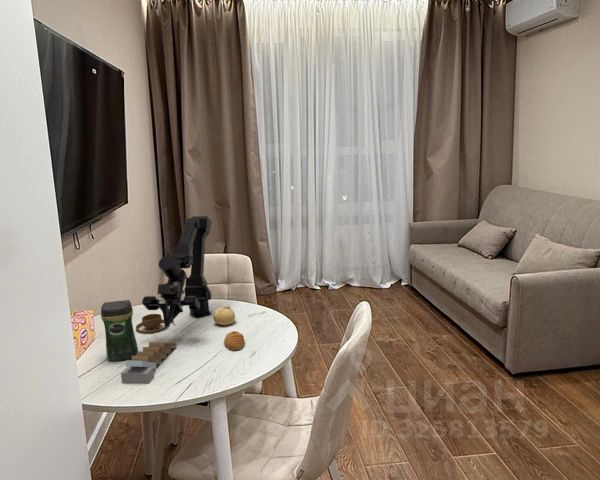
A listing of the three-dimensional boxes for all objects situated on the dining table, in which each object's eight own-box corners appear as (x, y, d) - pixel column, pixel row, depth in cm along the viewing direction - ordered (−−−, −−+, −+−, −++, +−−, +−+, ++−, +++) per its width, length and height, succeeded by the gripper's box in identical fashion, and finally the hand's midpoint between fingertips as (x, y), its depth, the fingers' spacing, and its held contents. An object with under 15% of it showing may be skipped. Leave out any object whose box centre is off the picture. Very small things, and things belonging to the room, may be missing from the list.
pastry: (246, 350, 173) (245, 339, 172) (226, 353, 171) (224, 342, 171) (243, 339, 182) (242, 329, 181) (223, 342, 180) (222, 331, 180)
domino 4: (156, 348, 174) (143, 346, 165) (171, 348, 173) (158, 347, 164) (156, 353, 174) (142, 352, 164) (170, 353, 173) (158, 352, 163)
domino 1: (141, 363, 163) (125, 360, 153) (156, 363, 162) (142, 360, 153) (140, 368, 162) (125, 366, 153) (155, 368, 162) (141, 366, 152)
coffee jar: (139, 349, 177) (133, 296, 174) (136, 359, 170) (130, 303, 166) (109, 353, 176) (102, 299, 172) (105, 363, 168) (97, 307, 164)
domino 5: (161, 342, 178) (148, 342, 169) (176, 343, 178) (163, 342, 168) (161, 347, 178) (148, 347, 168) (175, 348, 177) (163, 347, 168)
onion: (220, 329, 192) (219, 310, 191) (209, 324, 198) (208, 305, 197) (239, 323, 197) (238, 305, 195) (228, 318, 203) (226, 300, 202)
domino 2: (146, 358, 167) (131, 355, 157) (161, 358, 166) (147, 356, 156) (145, 363, 166) (131, 361, 157) (160, 364, 165) (147, 361, 156)
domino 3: (151, 353, 170) (137, 351, 161) (166, 353, 170) (153, 351, 160) (151, 358, 170) (136, 356, 160) (165, 358, 169) (152, 357, 160)
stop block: (128, 376, 158) (127, 367, 157) (154, 377, 157) (152, 367, 156) (122, 382, 154) (120, 373, 153) (148, 383, 153) (147, 373, 152)
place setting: (132, 340, 188) (130, 324, 187) (119, 323, 205) (117, 309, 204) (180, 328, 196) (178, 313, 195) (164, 314, 213) (163, 300, 212)
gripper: (140, 273, 179) (129, 316, 171) (194, 272, 176) (185, 316, 168) (153, 288, 188) (143, 330, 180) (203, 288, 186) (196, 330, 177)
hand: (166, 326), depth 176 cm, fingers closed
